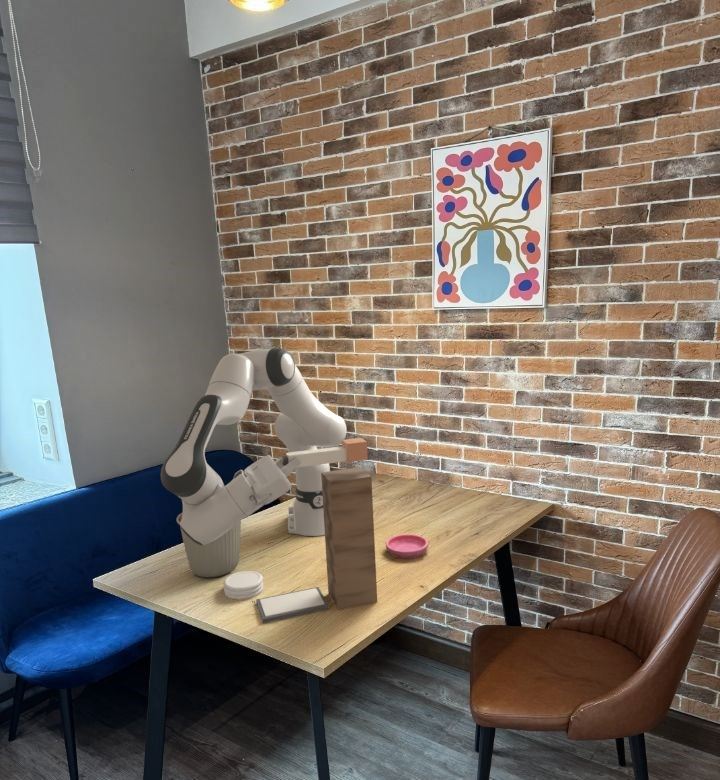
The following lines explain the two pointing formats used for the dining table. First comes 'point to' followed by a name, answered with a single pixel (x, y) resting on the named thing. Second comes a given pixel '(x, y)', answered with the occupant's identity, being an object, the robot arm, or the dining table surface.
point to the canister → (213, 553)
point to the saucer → (407, 545)
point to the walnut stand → (349, 537)
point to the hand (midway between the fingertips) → (296, 457)
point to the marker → (331, 454)
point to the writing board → (291, 604)
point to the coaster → (243, 585)
